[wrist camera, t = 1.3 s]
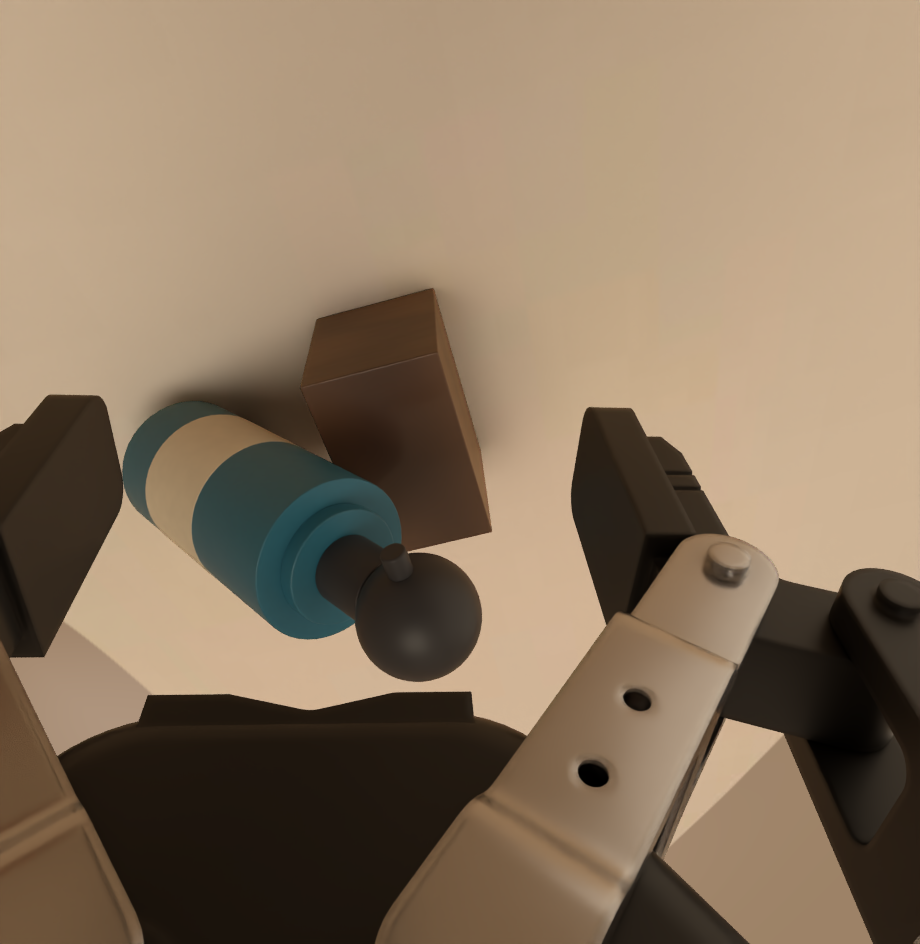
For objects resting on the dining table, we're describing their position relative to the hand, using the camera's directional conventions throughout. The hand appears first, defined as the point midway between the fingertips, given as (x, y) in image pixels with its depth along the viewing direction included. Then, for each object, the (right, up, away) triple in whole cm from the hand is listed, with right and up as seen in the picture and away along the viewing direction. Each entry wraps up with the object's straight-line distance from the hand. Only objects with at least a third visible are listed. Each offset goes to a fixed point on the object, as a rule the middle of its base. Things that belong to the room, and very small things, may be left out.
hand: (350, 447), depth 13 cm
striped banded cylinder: (-7, +3, +28) cm, 28 cm away
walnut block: (-1, +4, +27) cm, 27 cm away
